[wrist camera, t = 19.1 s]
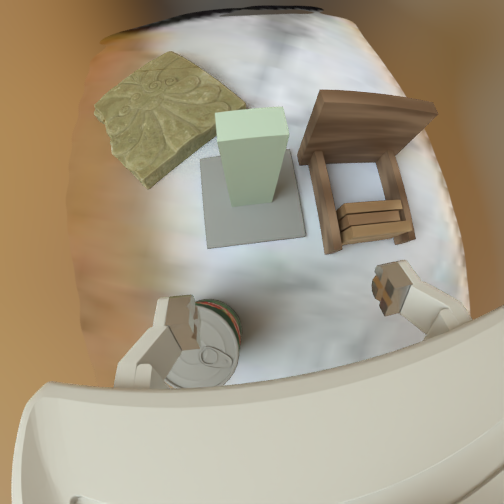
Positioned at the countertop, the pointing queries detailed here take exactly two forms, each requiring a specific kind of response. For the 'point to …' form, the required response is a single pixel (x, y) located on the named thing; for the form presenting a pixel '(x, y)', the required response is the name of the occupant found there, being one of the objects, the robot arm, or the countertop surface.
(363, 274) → the countertop surface
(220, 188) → the grey mat
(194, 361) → the canned tomato
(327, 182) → the walnut rack
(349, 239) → the offcut stack
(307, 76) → the countertop surface
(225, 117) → the pale green block
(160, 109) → the decorative tile
